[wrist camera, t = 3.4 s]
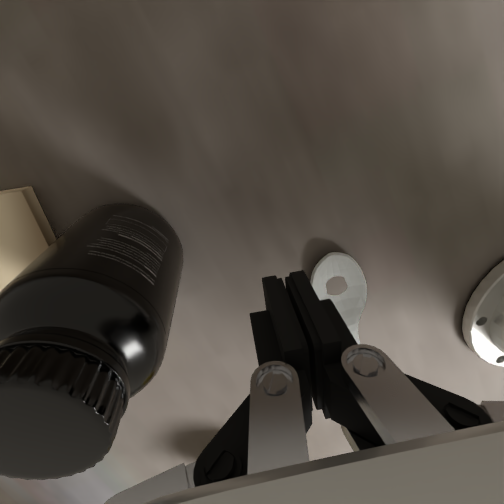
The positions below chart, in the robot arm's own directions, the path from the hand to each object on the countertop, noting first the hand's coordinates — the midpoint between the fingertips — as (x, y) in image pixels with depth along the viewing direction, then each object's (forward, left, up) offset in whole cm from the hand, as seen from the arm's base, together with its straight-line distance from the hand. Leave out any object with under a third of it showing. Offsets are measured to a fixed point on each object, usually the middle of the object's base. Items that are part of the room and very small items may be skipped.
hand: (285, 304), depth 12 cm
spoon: (-7, +12, -9) cm, 17 cm away
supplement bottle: (+8, 0, -9) cm, 12 cm away
